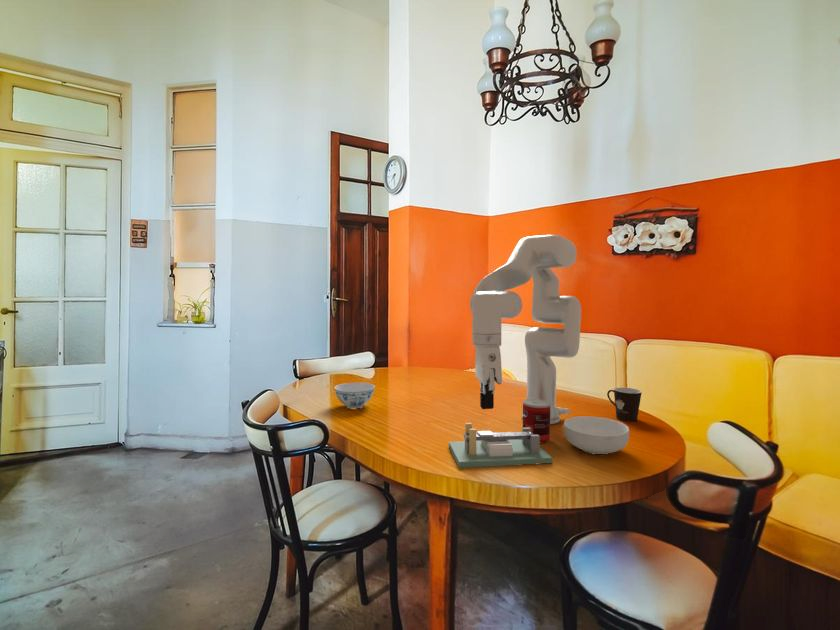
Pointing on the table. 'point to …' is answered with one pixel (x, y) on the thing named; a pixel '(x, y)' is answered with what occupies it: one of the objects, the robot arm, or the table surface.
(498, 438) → the grey hinged clamp lever
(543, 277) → the robot arm
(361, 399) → the chinaware
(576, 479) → the table surface
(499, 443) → the clamp board
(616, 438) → the cereal bowl
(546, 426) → the canned food
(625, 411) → the coffee mug
